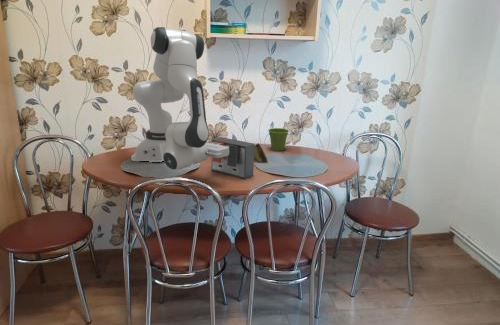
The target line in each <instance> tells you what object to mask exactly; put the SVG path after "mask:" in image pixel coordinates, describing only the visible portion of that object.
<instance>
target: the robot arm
mask: <svg viewBox="0 0 500 325" xmlns="http://www.w3.org/2000/svg"><path fill="white" fill-rule="evenodd" d="M150 46H151V50H152V51H153V52H154V53H156V54H155V58H154V62H153V67H152V70H153V73H154V74H155V75H156V76H157V77H158V78H159V79H158V80H143V81H140V82H136V83H135V84H134V86H133V89H132V97H133V99H134V100H135V101H136V102H137V103H138V104H139V105H141V107H143V108H144V109H145V111H146V114H147V117H148V122H149V123H148V125H149V129H147V130H146V133H145V137H146V138H145V139H143V140H142V141H141V142H140V143H139V144H137V146H136V147H135V152H134V153H133V154H131V157H130V160H131V161H132V162H139V161H149V162H148V163H152V162H162V161H164V162H162V163H164V164H165V165H166V167H168V168H169V169H170V170H175V171H176V170H177V171H178V170H182V169H185V168H188V167H191V166H192V165H196V164H200V163H201V162H204V161H206V160H207V159H208V157H209V158H210V157H211V158H212V157H213V158H222V157H225V156H228V155H229V147H227V146H222V145H221V143H216V142H215V143H212V142H209V141H208V139H209V138H210V137H209V136H210V132H209V127H208V122H207V118H206V117H207V116H206V107H205V105H206V103H205V96H204V95H205V94H204V88H203V85H202V82H201V81H200V80H199V79H198V70H197V69H198V68H197V67H198V63H197V61H198V60H199V59H201V57H202V56H203V54H204V50H205V41H204V39H203V37H202V36H201V35H198V34H197V33H192V32H189V31H185V30H182V29H174V28H166V27H164V26H162V27H161V26H160V27H159V26H158V27H157V26H156V27H155V28H154V29H153V30H152V33H151V35H150ZM185 95H186V96H187V98H188V106H189V115H190V119H189V120H188V121H178V122H173V117H172V114H171V113H170V112H169V111H167V110H165V109H163V108H162V104H167V103H175V102H178V101H182V100H183V98H184V96H185Z"/></svg>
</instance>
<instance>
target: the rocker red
mask: <svg viewBox="0 0 500 325" xmlns="http://www.w3.org/2000/svg"><path fill="white" fill-rule="evenodd" d="M216 143H221V145H222V146H224V144H225V143H222V142H217V141H216ZM221 159H222V158H213V160H212V159H211V162H212V161H214V162H218V163H221Z"/></svg>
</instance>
